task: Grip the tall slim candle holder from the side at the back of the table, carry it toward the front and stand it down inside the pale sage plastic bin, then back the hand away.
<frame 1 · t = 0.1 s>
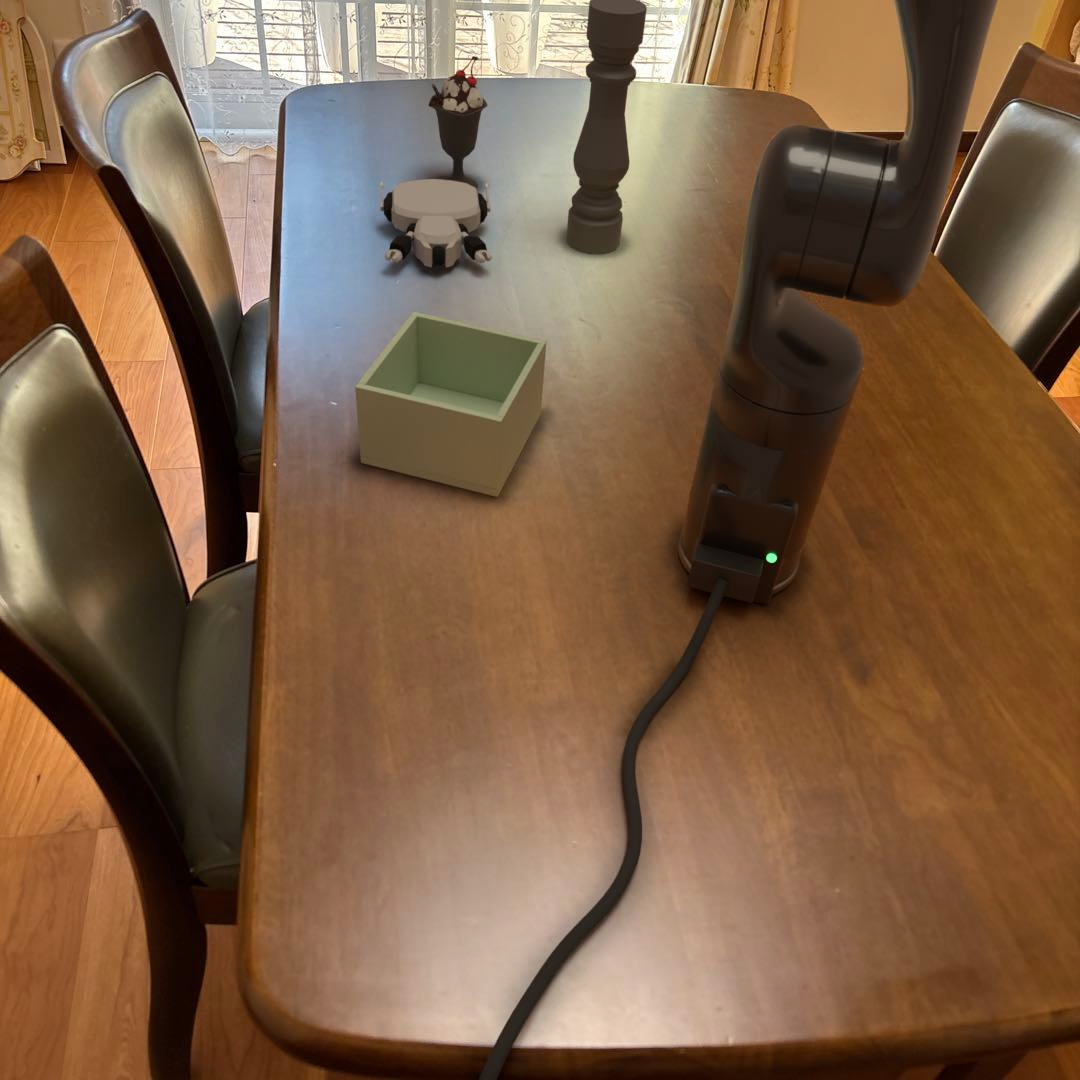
candle holder: (592, 242, 117), on the table
robot toy: (436, 246, 114), on the table
bin: (454, 437, 89), on the table
sundae: (458, 187, 125), on the table
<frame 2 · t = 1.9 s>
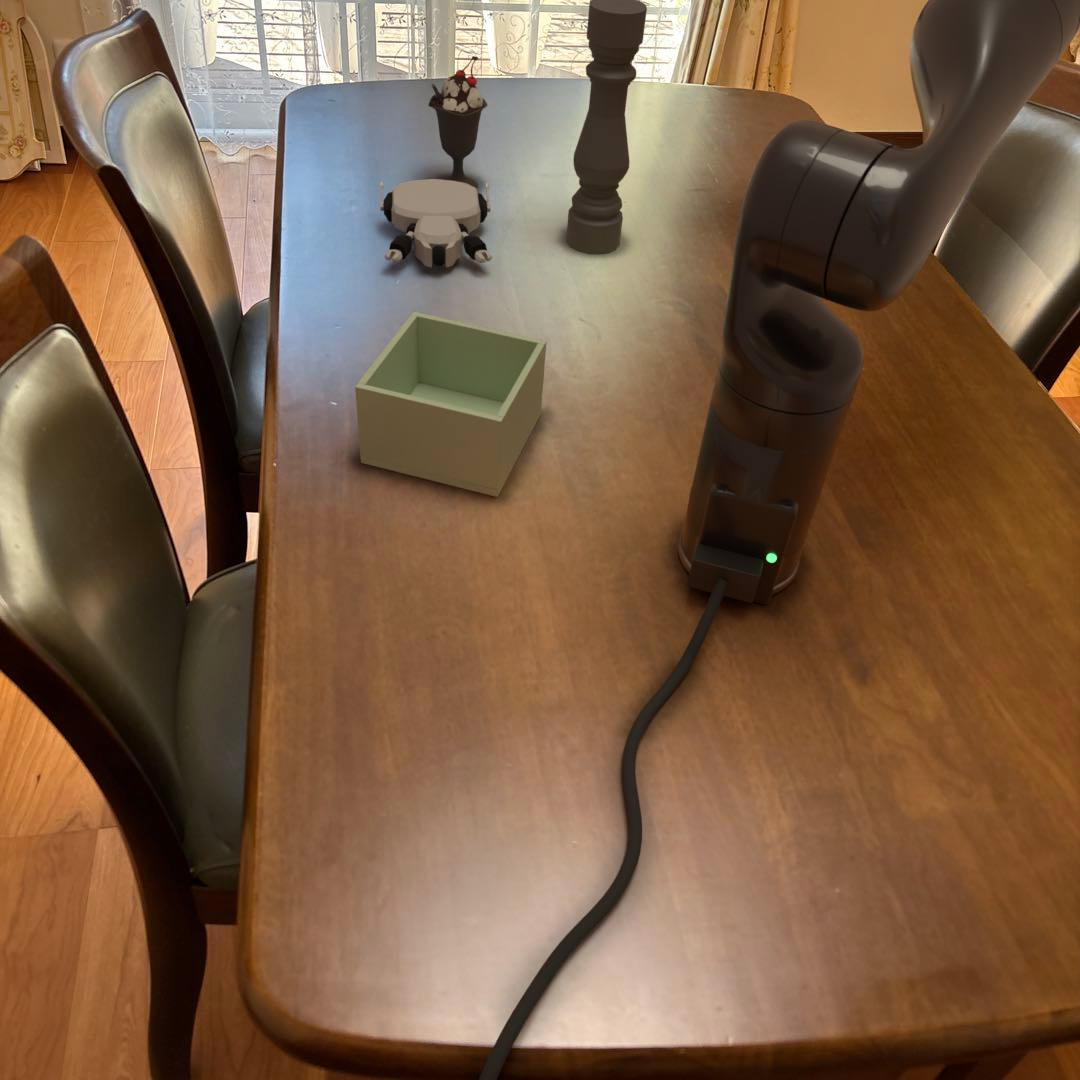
nothing on the table moved.
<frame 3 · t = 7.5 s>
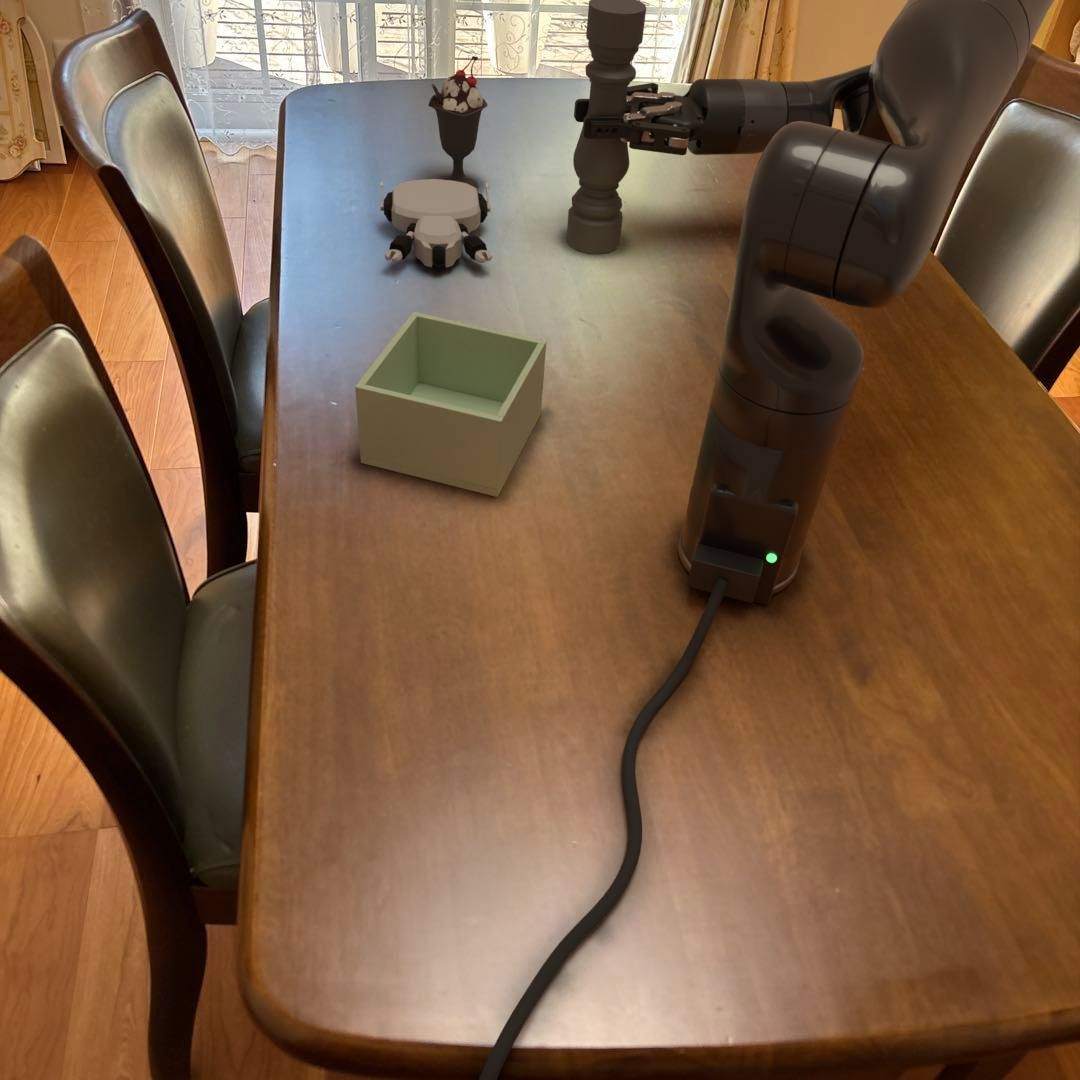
hand: (580, 118, 107), 14 cm above the table, tool horizontal, fingers closed on candle holder, 3 cm apart
candle holder: (592, 242, 117), on the table, touching gripper
everything else where it was.
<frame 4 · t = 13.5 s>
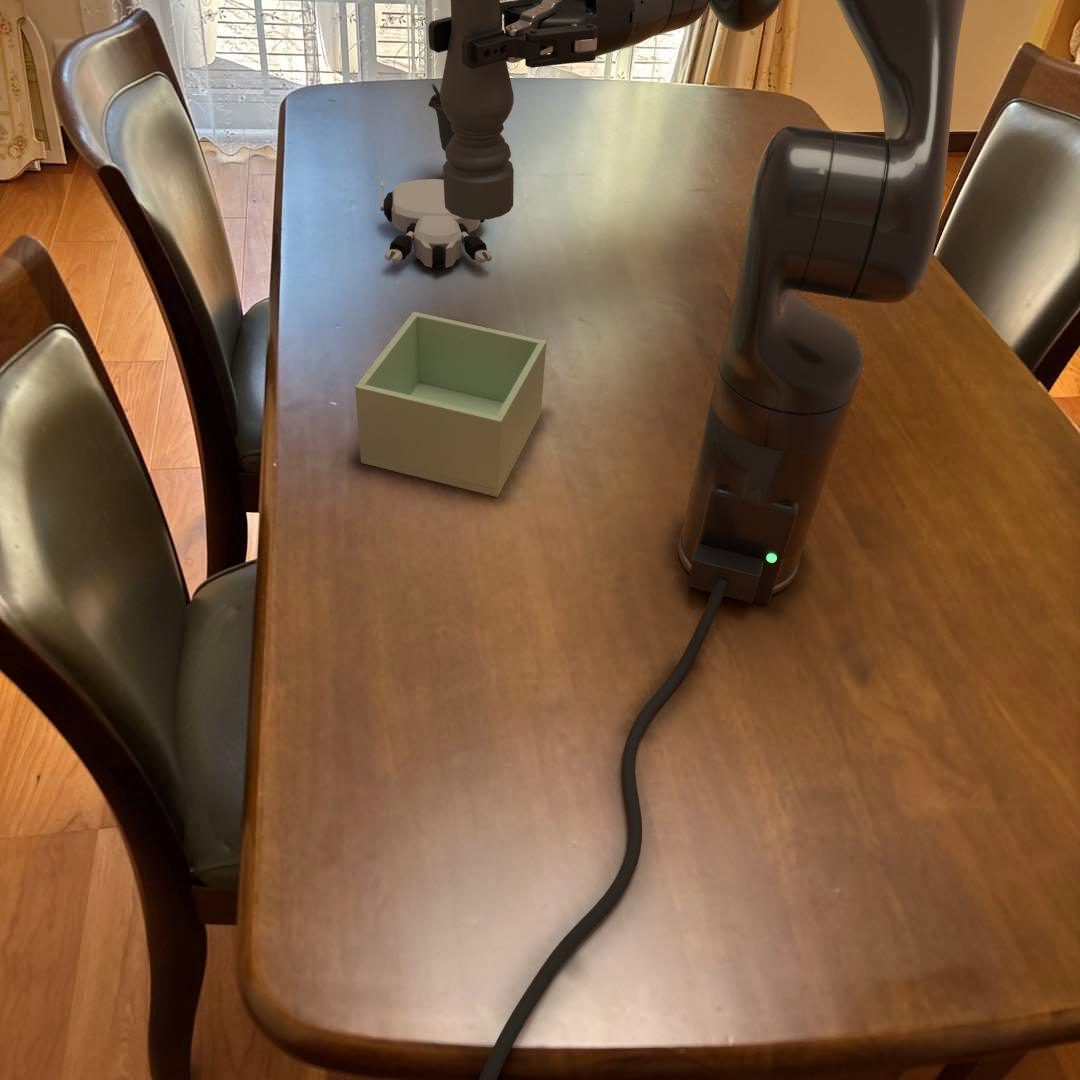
hand: (448, 45, 80), 28 cm above the table, tool horizontal, fingers closed on candle holder, 3 cm apart
candle holder: (478, 205, 91), point 14 cm above the table, touching gripper
everything else where it was.
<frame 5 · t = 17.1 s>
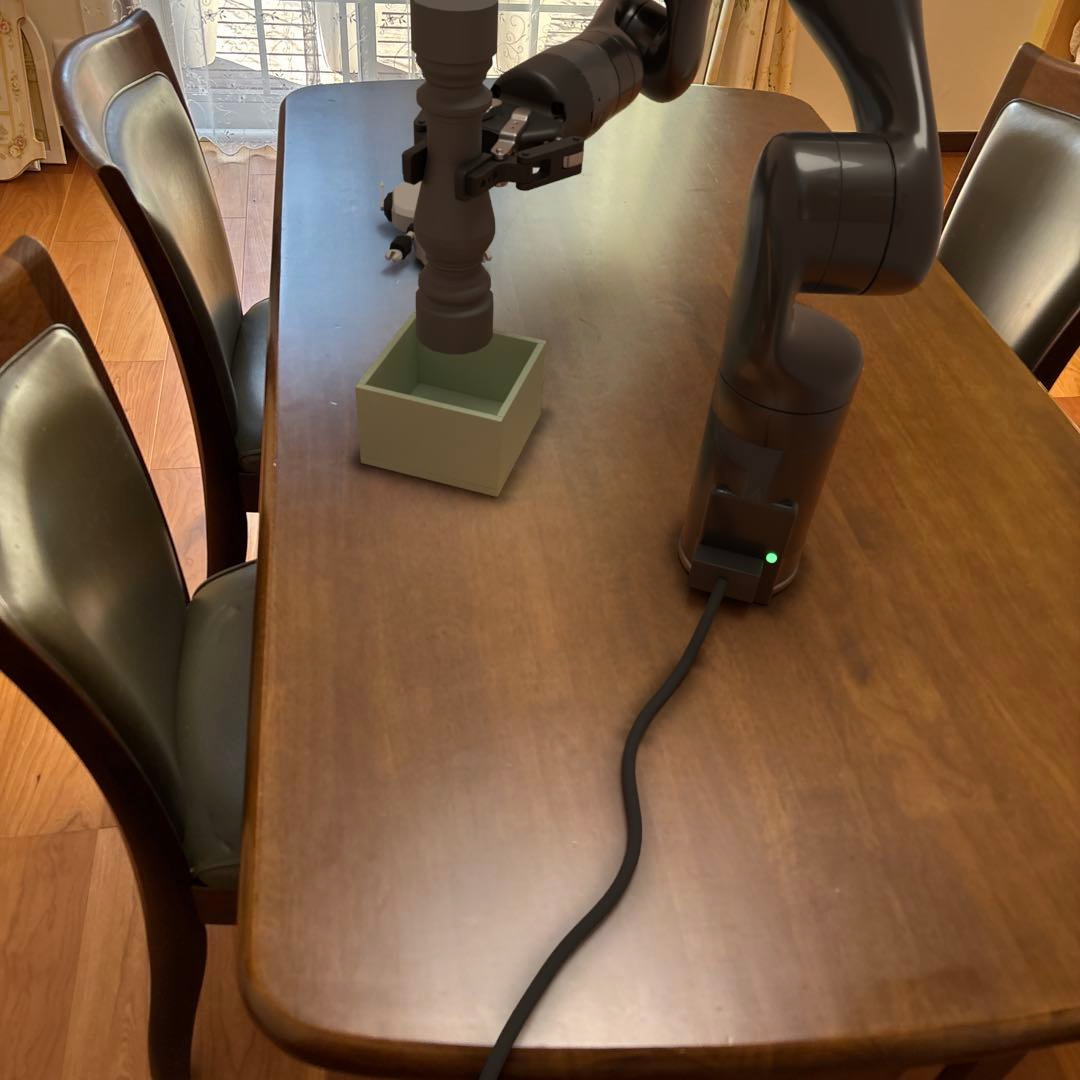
hand: (433, 178, 71), 24 cm above the table, tool horizontal, fingers closed on candle holder, 3 cm apart
candle holder: (454, 334, 82), point 10 cm above the table, touching gripper
everything else where it was.
when the fingers open (15 cm above the table, at t = 20.0 s): candle holder stays where it is, resting on bin.
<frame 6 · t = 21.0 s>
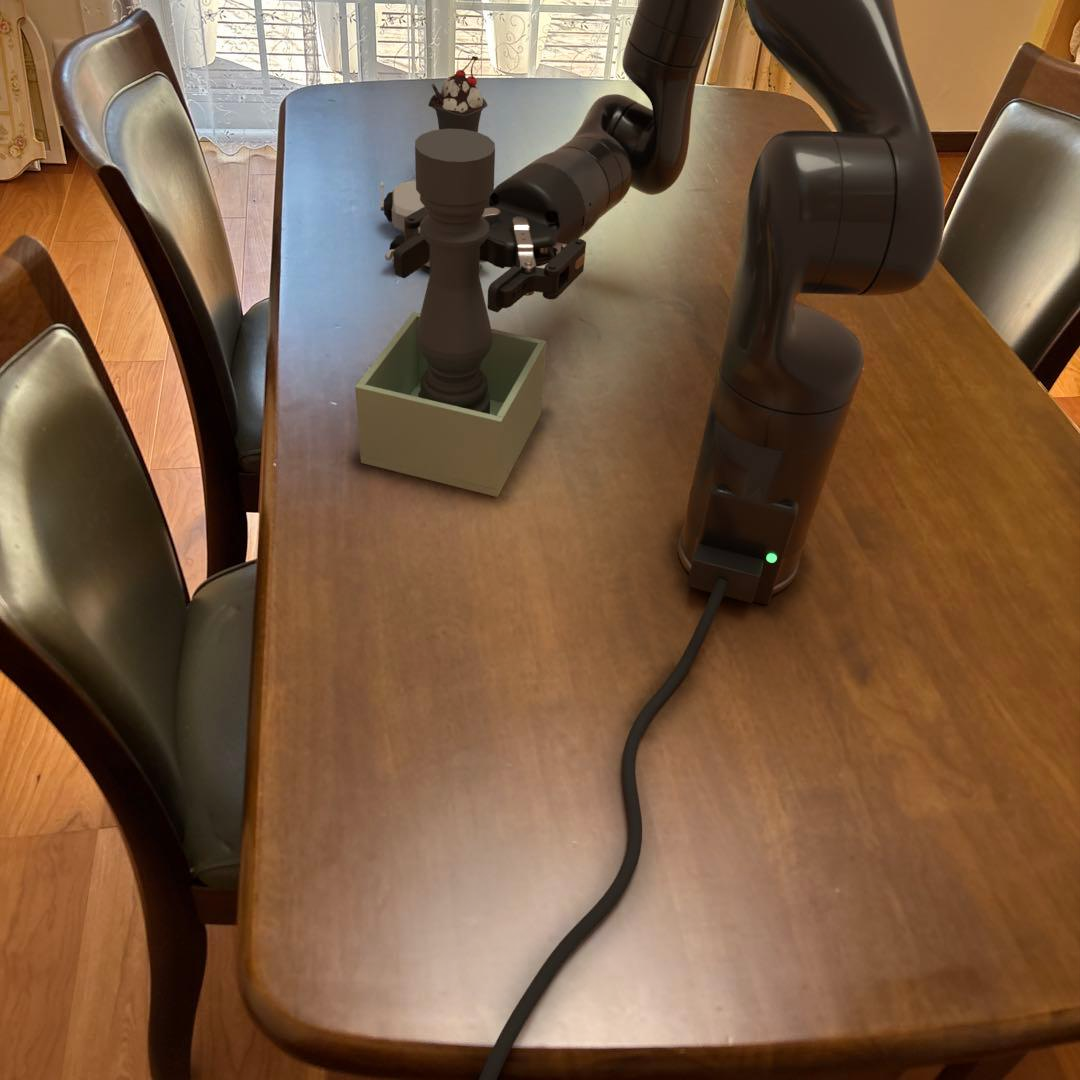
hand: (444, 283, 77), 16 cm above the table, tool horizontal, fingers open, 8 cm apart
candle holder: (453, 430, 89), point 1 cm above the table, touching bin
everything else where it was.
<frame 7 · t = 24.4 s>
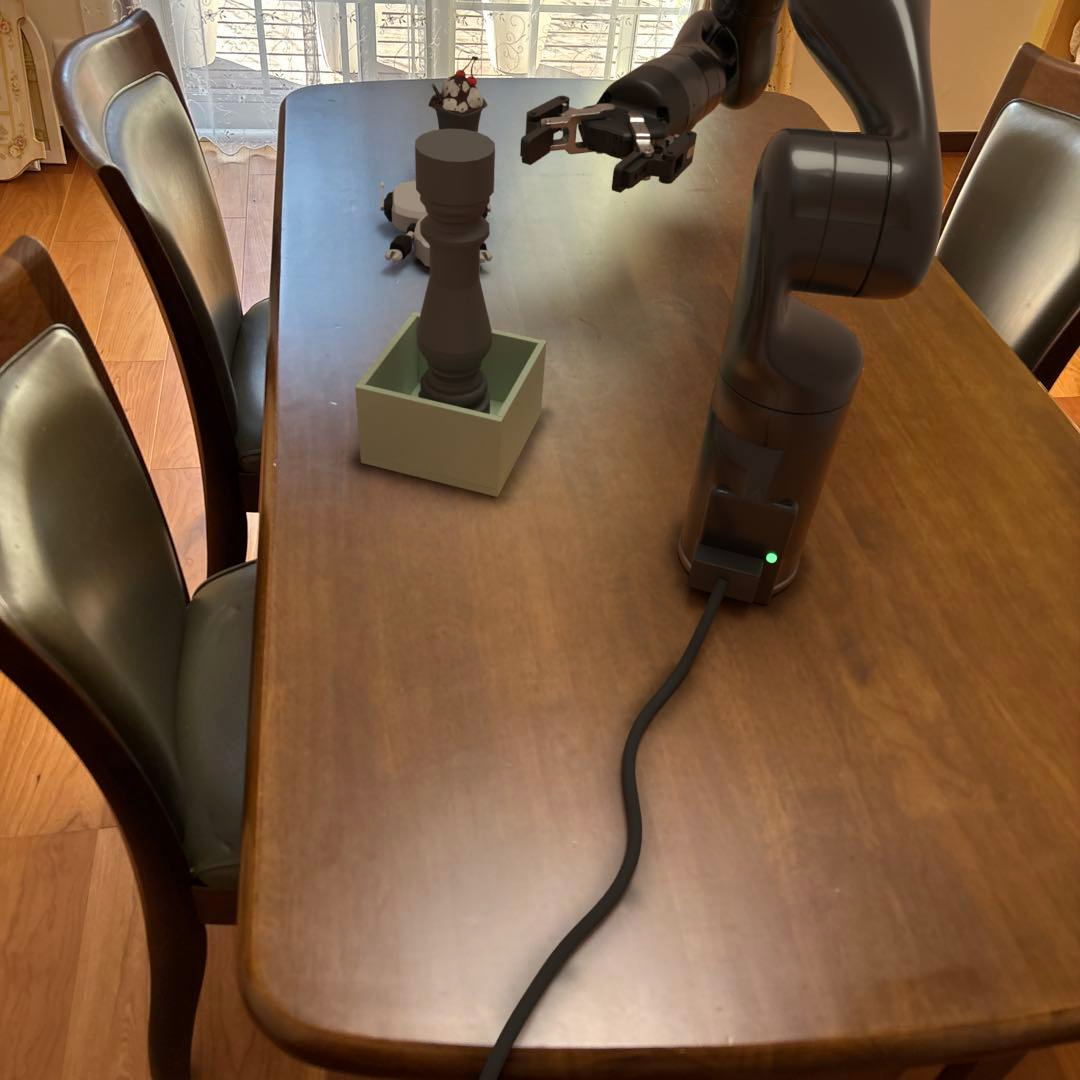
hand: (570, 166, 84), 20 cm above the table, tool horizontal, fingers open, 8 cm apart
nothing on the table moved.
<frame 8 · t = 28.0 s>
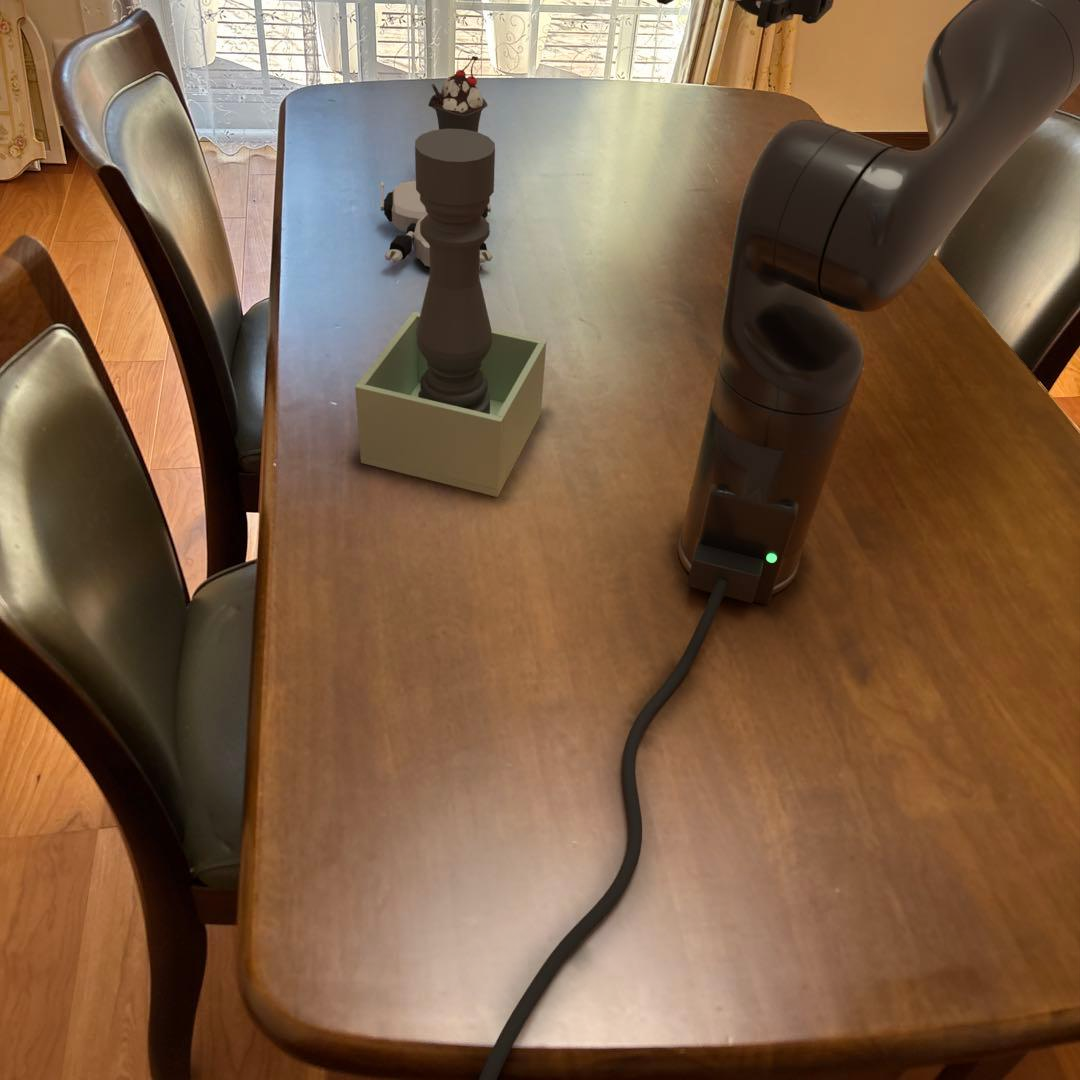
hand: (711, 1, 79), 32 cm above the table, tool horizontal, fingers open, 8 cm apart
nothing on the table moved.
at the end: candle holder inside the target area in the bin (0.2 cm from its centre), point 0.6 cm above the bin's base; the gripper is holding nothing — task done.
